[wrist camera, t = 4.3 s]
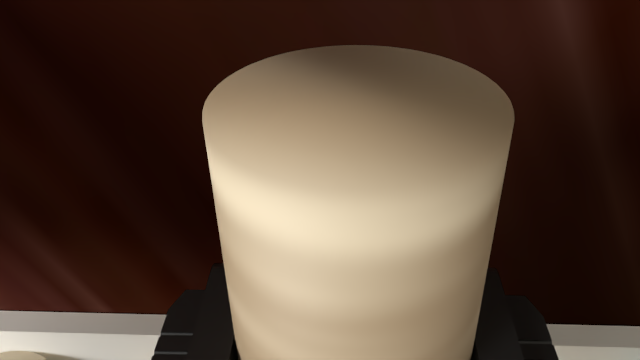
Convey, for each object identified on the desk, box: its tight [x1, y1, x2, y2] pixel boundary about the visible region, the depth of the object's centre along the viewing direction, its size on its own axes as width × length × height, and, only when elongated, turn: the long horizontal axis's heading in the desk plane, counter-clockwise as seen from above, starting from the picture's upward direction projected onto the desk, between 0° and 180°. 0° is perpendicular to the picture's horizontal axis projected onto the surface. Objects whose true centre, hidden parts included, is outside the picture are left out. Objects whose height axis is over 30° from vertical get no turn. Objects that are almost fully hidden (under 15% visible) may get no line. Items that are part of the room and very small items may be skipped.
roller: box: [202, 45, 514, 360], centre depth 11 cm, size 10×4×4 cm, turn 1°
